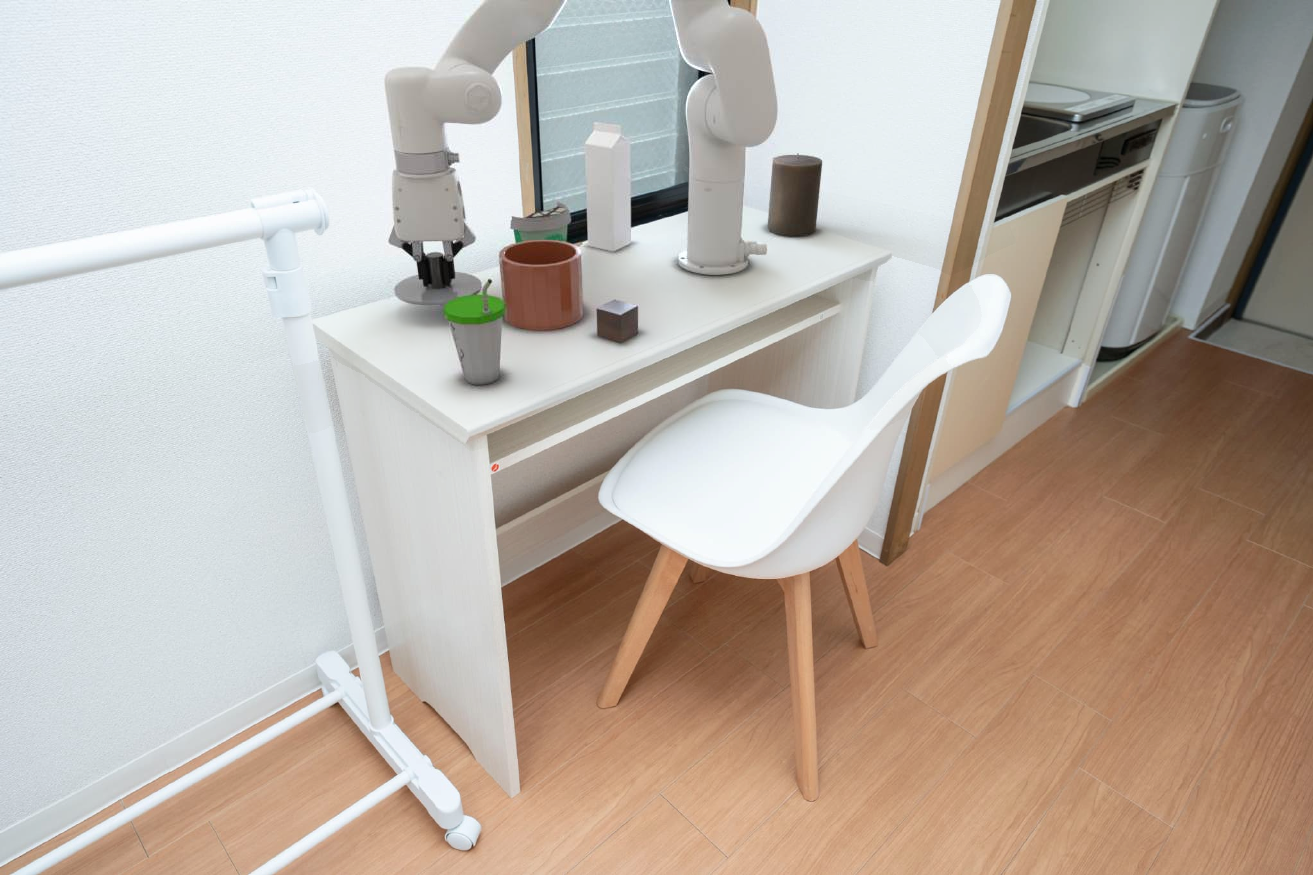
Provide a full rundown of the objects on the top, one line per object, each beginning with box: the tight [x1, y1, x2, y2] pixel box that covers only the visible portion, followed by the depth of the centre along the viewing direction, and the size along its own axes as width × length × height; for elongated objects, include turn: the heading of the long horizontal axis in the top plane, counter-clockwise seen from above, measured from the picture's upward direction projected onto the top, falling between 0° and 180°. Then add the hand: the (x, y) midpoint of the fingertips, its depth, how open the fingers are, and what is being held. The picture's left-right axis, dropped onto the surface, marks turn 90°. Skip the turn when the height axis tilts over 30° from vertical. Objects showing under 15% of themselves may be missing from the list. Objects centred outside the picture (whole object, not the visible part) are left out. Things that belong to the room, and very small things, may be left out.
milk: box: [584, 121, 632, 252], centre depth 156 cm, size 6×6×22 cm
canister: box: [498, 240, 584, 331], centre depth 130 cm, size 12×12×10 cm
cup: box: [442, 278, 506, 386], centre depth 110 cm, size 8×8×15 cm
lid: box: [393, 251, 483, 307], centre depth 130 cm, size 13×13×6 cm
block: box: [596, 299, 639, 344], centre depth 125 cm, size 4×4×4 cm
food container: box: [509, 201, 572, 243], centre depth 148 cm, size 12×6×10 cm, turn 143°
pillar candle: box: [767, 152, 823, 237], centre depth 167 cm, size 10×10×15 cm
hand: (437, 282), depth 131 cm, fingers closed on lid, 2 cm apart
